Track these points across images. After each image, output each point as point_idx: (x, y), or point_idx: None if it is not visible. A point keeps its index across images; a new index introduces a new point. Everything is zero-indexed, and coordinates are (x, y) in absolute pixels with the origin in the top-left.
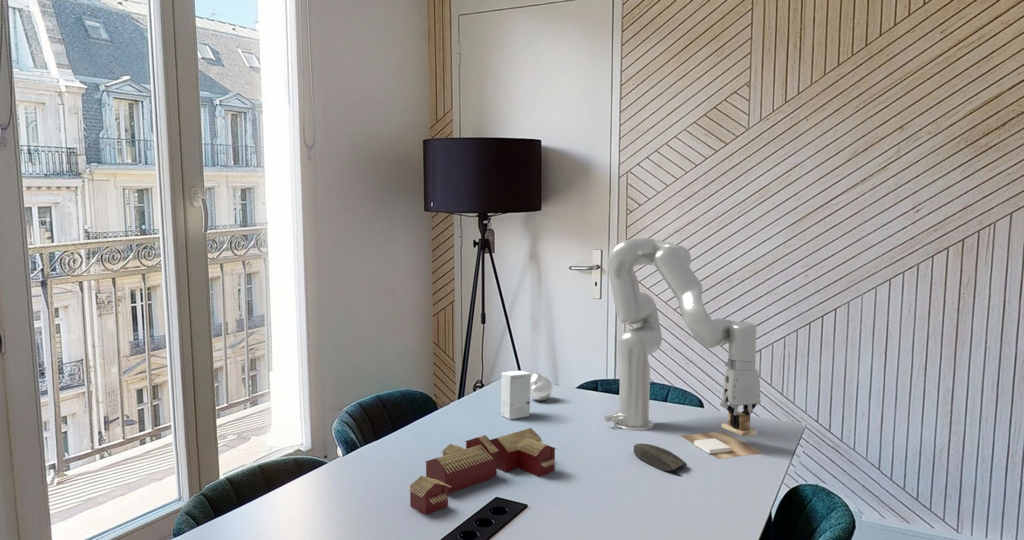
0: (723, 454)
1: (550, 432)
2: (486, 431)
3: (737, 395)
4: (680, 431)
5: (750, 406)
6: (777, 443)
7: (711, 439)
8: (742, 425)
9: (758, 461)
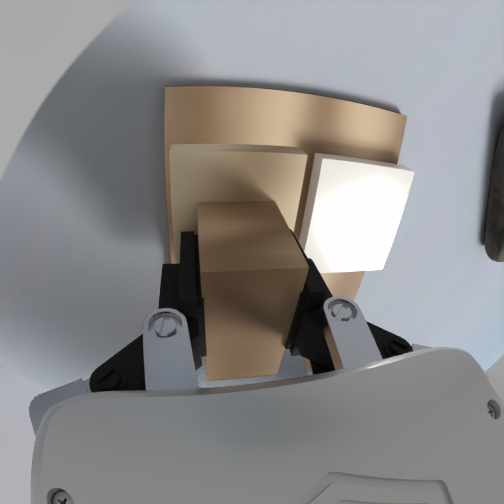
0: (361, 140)
1: (467, 349)
2: (492, 348)
3: (484, 450)
4: (298, 360)
5: (168, 374)
6: (27, 212)
7: (323, 265)
8: (269, 220)
9: (252, 28)
